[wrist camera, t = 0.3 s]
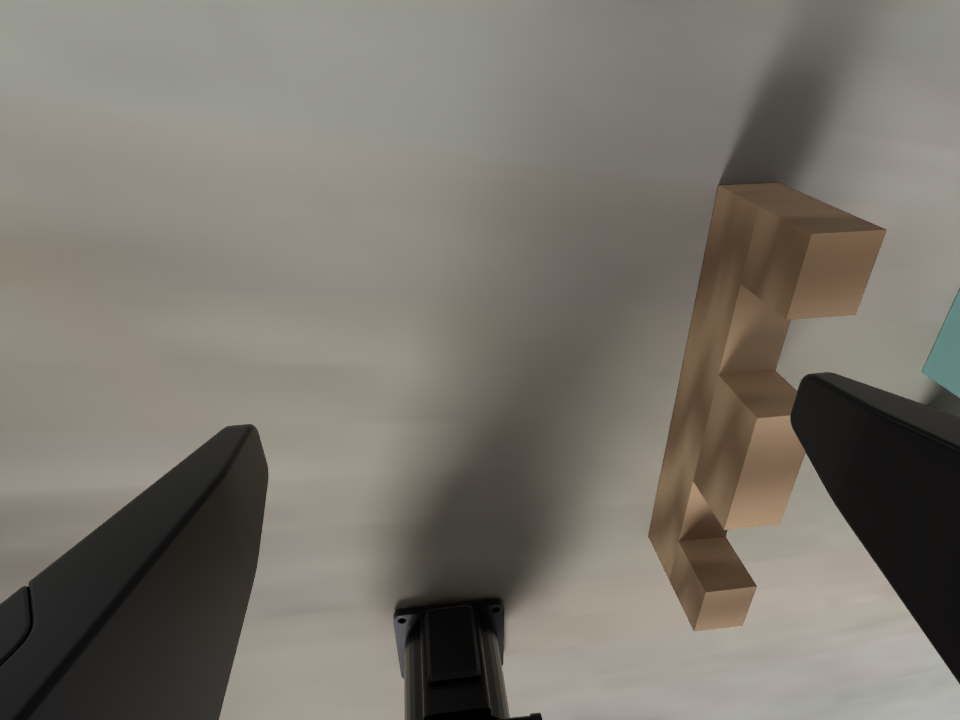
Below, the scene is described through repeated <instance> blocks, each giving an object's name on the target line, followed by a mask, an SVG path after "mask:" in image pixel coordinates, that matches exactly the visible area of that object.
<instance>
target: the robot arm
mask: <svg viewBox="0 0 960 720" xmlns="http://www.w3.org/2000/svg"><path fill="white" fill-rule="evenodd" d="M790 421H791V425H792V428H793V430H794V432H795V434H796V436H797V438H798V439H799V441H800V443H801V445H802V447H803V448H804V450H805V452H806V454H807V456H808V457H809V459H810V461H811V463H812V465H813V466H814V468H815V470H816V472H817V474H818V475H819V477H820V479H821V481H822V483H823V484H824V486H825V488H826V490H827V492H828V493H829V495H830V497H831V498H832V500H833V502H834V503H835V505H836V506H837V508H838V509H839V511H840V512H841V514H842V515H843V517H844V518H845V520H846V521H847V523H848V524H849V526H850V527H851V528H852V530H853V531H854V533H855V534H856V536H857V537H858V538H859V540H860V541H861V543H862V544H863V546H864V547H865V549H866V550H867V551H868V553H869V554H870V556H871V557H872V559H873V560H874V562H875V563H876V564H877V566H878V567H879V569H880V570H881V572H882V573H883V574H884V576H885V577H886V579H887V580H888V582H889V583H890V585H891V586H892V587H893V589H894V590H895V592H896V593H897V595H898V596H899V597H900V599H901V600H902V602H903V603H904V605H905V606H906V608H907V609H908V610H909V612H910V613H911V615H912V616H913V618H914V619H915V621H916V622H917V623H918V625H919V626H920V628H921V629H922V631H923V632H924V633H925V635H926V636H927V638H928V639H929V641H930V642H931V644H932V645H933V646H934V648H935V649H936V651H937V652H938V654H939V655H940V656H941V658H942V659H943V661H944V662H945V664H946V665H947V667H948V668H949V669H950V671H951V672H952V674H953V675H954V677H955V678H956V680H957V681H958V682H959V684H960V417H959V416H956V415H953V414H950V413H947V412H944V411H941V410H938V409H936V408H933V407H930V406H927V405H924V404H921V403H918V402H915V401H913V400H910V399H907V398H904V397H901V396H898V395H895V394H892V393H889V392H887V391H884V390H881V389H878V388H875V387H872V386H869V385H866V384H864V383H861V382H858V381H855V380H852V379H849V378H846V377H843V376H841V375H838V374H835V373H830V372H825V373H815V374H808V375H806V376H804V377H803V379H802V380H801V382H800V385H799V388H798V391H797V394H796V397H795V401H794V404H793V407H792V410H791V414H790ZM267 486H268V466H267V462H266V458H265V454H264V451H263V447H262V444H261V440H260V436H259V433H258V430H257V428H256V427H255V426H254V425H252V424H246V425H234V426H227V427H225V428H224V429H222V430H221V431H220V432H218V433H217V434H216V435H215V436H213V437H212V438H211V439H210V440H208V441H207V442H206V443H205V444H203V445H202V446H201V447H199V448H198V449H197V450H196V451H194V452H193V453H192V454H191V455H189V456H188V457H187V458H185V459H184V460H183V461H182V462H180V463H179V464H178V465H177V466H175V467H174V468H173V469H172V470H170V471H169V472H168V473H166V474H165V475H164V476H163V477H161V478H160V479H159V480H158V481H156V482H155V483H154V484H153V485H151V486H150V487H149V488H147V489H146V490H145V491H144V492H142V493H141V494H140V495H139V496H137V497H136V498H135V499H133V500H132V501H131V502H130V503H128V504H127V505H126V506H125V507H123V508H122V509H121V510H120V511H118V512H117V513H116V514H114V515H113V516H112V517H111V518H109V519H108V520H107V521H106V522H104V523H103V524H102V525H101V526H99V527H98V528H97V529H95V530H94V531H93V532H92V533H90V534H89V535H88V536H87V537H85V538H84V539H83V540H81V541H80V542H79V543H78V544H76V545H75V546H74V547H73V548H71V549H70V550H69V551H67V552H66V553H65V554H64V555H62V556H61V557H60V558H59V559H57V560H56V561H55V562H54V563H52V564H51V565H50V566H48V567H47V568H46V569H45V570H43V571H42V572H41V573H40V574H38V575H37V576H36V577H34V578H33V579H32V580H31V581H30V582H29V587H28V586H23V587H22V588H20V589H19V590H18V591H17V592H15V593H14V594H13V595H11V596H10V597H9V598H8V599H6V600H5V601H4V602H3V603H1V604H0V720H219V716H220V712H221V708H222V704H223V700H224V696H225V692H226V689H227V685H228V681H229V677H230V673H231V669H232V665H233V661H234V657H235V653H236V649H237V645H238V641H239V637H240V633H241V629H242V625H243V622H244V618H245V614H246V610H247V606H248V602H249V598H250V594H251V590H252V586H253V582H254V578H255V573H256V569H257V563H258V556H259V549H260V541H261V533H262V525H263V517H264V509H265V501H266V493H267ZM394 629H395V636H396V642H397V649H398V656H399V663H400V670H401V676H402V678H404V680H405V720H542V717H541V714H540V713H533V714H530V716H523V717H514V718H510V716H509V709H508V703H507V697H506V690H505V684H504V678H503V671H502V665H503V640H504V607H503V602H502V600H500V599H488V600H479V601H471V602H462V603H453V604H444V605H436V606H427V607H418V608H410V609H401V610H398V611H396V612H395V613H394Z"/></svg>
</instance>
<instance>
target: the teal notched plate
mask: <svg viewBox="0 0 960 720" xmlns="http://www.w3.org/2000/svg"><path fill="white" fill-rule="evenodd" d="M922 373H923V374H925V375H926V376H928V377H929V378H931V379H932V380H934V381H935V382H937V383H938V384H940V385H941V386H943V387H944V388H946V389H947V390H949V391H950V392H951V393H953V394H954V395H956V396H957V397H959V398H960V290H959V292H958V294H957V296H956V299H955V301H954V303H953V305H952V307H951V309H950V312H949V314H948V316H947V318H946V320H945V323H944V325H943V327H942V329H941V331H940V334H939V336H938V338H937V340H936V342H935V344H934V347H933V349H932V351H931V353H930V355H929V358H928V360H927V362H926V364H925V366H924V369H923V371H922Z"/></svg>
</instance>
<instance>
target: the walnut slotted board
mask: <svg viewBox="0 0 960 720" xmlns="http://www.w3.org/2000/svg"><path fill="white" fill-rule="evenodd" d="M885 233H886V229H884V228H881V227H879V226H877V225H874V224H872V223H870V222H867V221H865V220H863V219H861V218H858V217H856V216H854V215H851V214H849V213H847V212H844V211H842V210H840V209H838V208H835V207H833V206H831V205H828V204H826V203H824V202H821V201H819V200H817V199H815V198H812V197H810V196H808V195H805V194H803V193H801V192H798V191H796V190H794V189H792V188H789V187H787V186H785V185H782V184H780V183H758V184H736V185H719V186H718V191H717V196H716V201H715V206H714V211H713V216H712V221H711V226H710V231H709V236H708V241H707V246H706V251H705V256H704V261H703V266H702V271H701V276H700V281H699V286H698V291H697V296H696V301H695V306H694V311H693V316H692V321H691V326H690V331H689V336H688V341H687V346H686V351H685V356H684V361H683V366H682V371H681V376H680V381H679V386H678V391H677V396H676V401H675V406H674V411H673V416H672V421H671V426H670V431H669V436H668V441H667V446H666V451H665V456H664V461H663V466H662V471H661V476H660V481H659V486H658V491H657V496H656V501H655V506H654V511H653V516H652V521H651V526H650V531H649V536H648V537H649V539H650V541H651V543H652V545H653V547H654V549H655V551H656V553H657V555H658V557H659V560H660V562H661V564H662V566H663V568H664V570H665V572H666V574H667V576H668V578H669V580H670V582H671V585H672V587H673V589H674V591H675V593H676V595H677V597H678V599H679V601H680V603H681V605H682V607H683V609H684V612H685V614H686V616H687V618H688V620H689V622H690V624H691V626H692V628H693V630H694V631H702V630H710V629H718V628H727V627H735V626H743V623H744V620H745V618H746V615H747V612H748V609H749V607H750V604H751V601H752V598H753V596H754V593H755V590H756V587H757V586H756V584H755V583H754V581H753V579H752V578H751V576H750V575H749V573H748V572H747V570H746V568H745V567H744V565H743V564H742V562H741V560H740V559H739V557H738V556H737V554H736V552H735V551H734V549H733V548H732V546H731V545H730V543H729V541H728V540H727V538H726V533H727V530H729V529H738V528H748V527H757V526H766V525H776V524H780V522H781V519H782V516H783V513H784V511H785V508H786V505H787V502H788V500H789V497H790V494H791V491H792V489H793V486H794V483H795V480H796V478H797V475H798V472H799V469H800V467H801V464H802V461H803V458H804V456H805V453H806V452H805V450H804V448H803V447H802V445H801V443H800V441H799V439H798V438H797V436H796V434H795V432H794V430H793V428H792V425H791V421H790V414H791V410H792V407H793V404H794V401H795V397H796V394H797V391H796V390H795V389H794V388H793V387H792V386H791V385H790V384H789V383H788V382H787V381H786V380H785V379H784V378H783V377H781V376H780V375H779V374H778V373H777V372H776V371H775V370H776V367H777V363H778V360H779V357H780V353H781V350H782V347H783V343H784V340H785V337H786V333H787V330H788V327H789V323H790V320H791V319H803V318H817V317H831V316H845V315H856V313H857V310H858V307H859V305H860V302H861V299H862V296H863V294H864V291H865V288H866V285H867V283H868V280H869V277H870V274H871V272H872V269H873V266H874V263H875V261H876V258H877V255H878V252H879V250H880V247H881V244H882V241H883V239H884V236H885Z"/></svg>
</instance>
